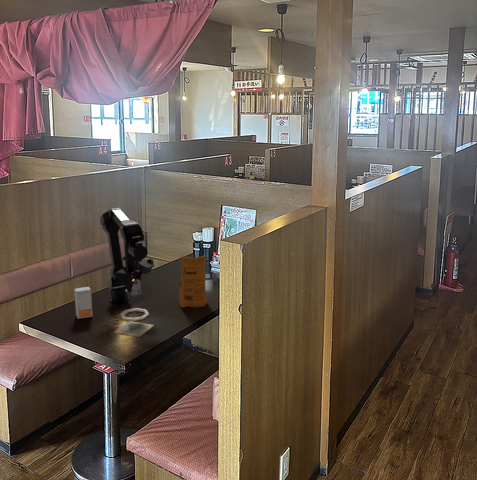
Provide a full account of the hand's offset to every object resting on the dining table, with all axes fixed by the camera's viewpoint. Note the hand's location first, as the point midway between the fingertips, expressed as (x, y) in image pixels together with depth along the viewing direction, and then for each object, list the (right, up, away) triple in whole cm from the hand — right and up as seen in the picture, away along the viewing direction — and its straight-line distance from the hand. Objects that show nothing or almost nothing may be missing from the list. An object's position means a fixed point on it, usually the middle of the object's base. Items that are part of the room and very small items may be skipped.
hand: (133, 290), depth 210 cm
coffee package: (+23, -8, +16) cm, 29 cm away
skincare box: (-21, -11, +2) cm, 24 cm away
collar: (0, -11, +3) cm, 11 cm away
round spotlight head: (0, -1, 0) cm, 1 cm away
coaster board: (+2, -14, -10) cm, 18 cm away
